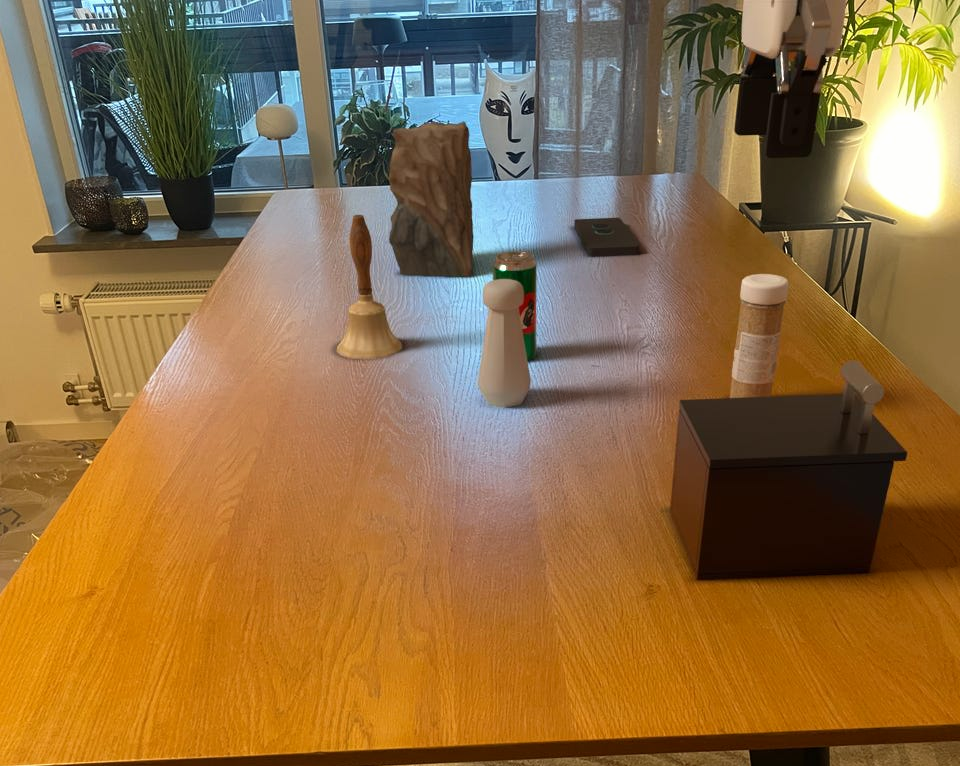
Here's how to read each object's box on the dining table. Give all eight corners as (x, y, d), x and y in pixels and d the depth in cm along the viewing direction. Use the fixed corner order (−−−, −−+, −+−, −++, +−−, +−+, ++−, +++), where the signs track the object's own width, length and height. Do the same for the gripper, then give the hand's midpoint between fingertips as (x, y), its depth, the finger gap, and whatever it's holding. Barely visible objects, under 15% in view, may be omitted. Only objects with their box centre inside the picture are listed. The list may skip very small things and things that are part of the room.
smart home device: (620, 216, 174) (641, 245, 157) (620, 226, 175) (640, 256, 158) (572, 218, 173) (588, 247, 157) (572, 228, 174) (588, 259, 158)
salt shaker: (484, 415, 108) (480, 292, 100) (473, 395, 112) (469, 276, 105) (536, 409, 109) (537, 286, 101) (524, 390, 113) (523, 272, 106)
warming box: (823, 507, 88) (843, 402, 83) (868, 576, 79) (894, 462, 73) (669, 514, 88) (678, 408, 83) (696, 583, 79) (709, 469, 73)
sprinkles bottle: (737, 396, 110) (753, 270, 102) (777, 404, 108) (796, 276, 100) (720, 410, 107) (734, 281, 99) (760, 418, 105) (779, 287, 97)
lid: (852, 401, 83) (863, 344, 80) (905, 461, 73) (920, 399, 71) (678, 407, 83) (684, 351, 80) (709, 468, 73) (716, 407, 70)
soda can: (539, 352, 123) (540, 250, 117) (532, 366, 119) (532, 262, 113) (499, 350, 124) (497, 249, 118) (490, 364, 120) (488, 261, 114)
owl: (389, 278, 152) (378, 132, 141) (411, 256, 162) (402, 118, 151) (471, 280, 150) (466, 132, 139) (487, 258, 160) (484, 118, 149)
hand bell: (416, 348, 126) (407, 213, 117) (365, 366, 121) (352, 227, 112) (373, 334, 131) (362, 204, 122) (323, 351, 126) (307, 216, 117)
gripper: (913, -158, 58) (857, 165, 68) (826, -139, 72) (789, 126, 82) (783, -154, 58) (745, 168, 68) (721, -136, 72) (697, 128, 82)
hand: (769, 145), depth 75 cm, fingers open, 9 cm apart
